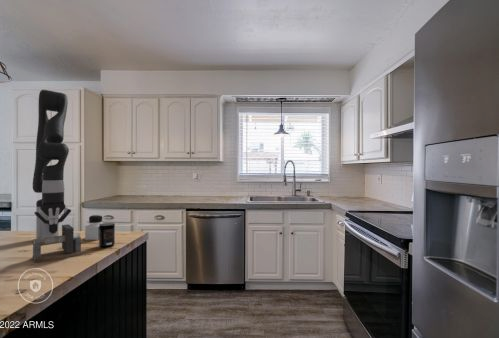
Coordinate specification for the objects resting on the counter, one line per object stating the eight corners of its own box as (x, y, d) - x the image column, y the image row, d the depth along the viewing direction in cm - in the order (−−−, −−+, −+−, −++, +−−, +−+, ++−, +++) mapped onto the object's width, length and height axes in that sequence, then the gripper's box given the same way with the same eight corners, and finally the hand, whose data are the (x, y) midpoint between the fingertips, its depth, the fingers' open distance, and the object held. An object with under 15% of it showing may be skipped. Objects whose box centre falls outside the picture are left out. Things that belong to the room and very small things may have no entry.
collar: (61, 247, 124) (62, 225, 124) (68, 246, 126) (68, 224, 126) (66, 253, 117) (66, 228, 117) (73, 252, 118) (73, 228, 118)
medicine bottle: (98, 240, 145) (98, 216, 145) (84, 240, 145) (84, 216, 145) (105, 236, 152) (106, 214, 152) (92, 236, 152) (92, 214, 152)
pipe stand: (32, 258, 116) (32, 236, 116) (77, 250, 127) (77, 231, 127) (34, 263, 110) (35, 240, 110) (81, 254, 121) (81, 234, 121)
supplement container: (110, 243, 139) (110, 222, 139) (117, 246, 135) (117, 224, 135) (96, 246, 134) (96, 224, 134) (102, 249, 130) (102, 226, 130)
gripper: (69, 189, 125) (69, 229, 125) (32, 191, 116) (31, 233, 116) (73, 191, 119) (73, 232, 119) (34, 192, 110) (34, 237, 110)
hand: (53, 233), depth 118 cm, fingers closed
